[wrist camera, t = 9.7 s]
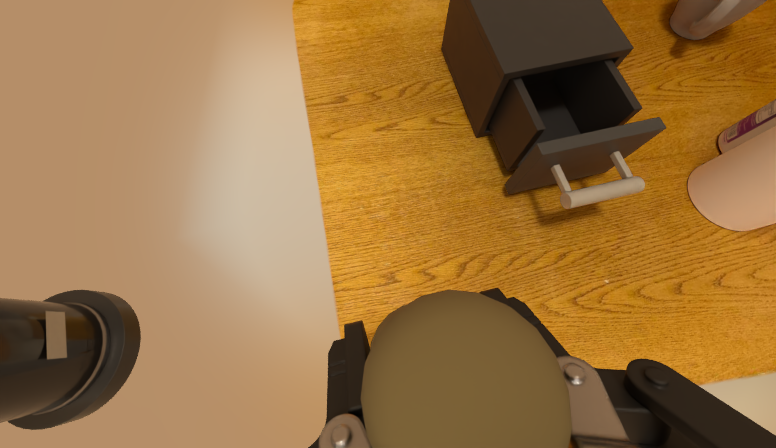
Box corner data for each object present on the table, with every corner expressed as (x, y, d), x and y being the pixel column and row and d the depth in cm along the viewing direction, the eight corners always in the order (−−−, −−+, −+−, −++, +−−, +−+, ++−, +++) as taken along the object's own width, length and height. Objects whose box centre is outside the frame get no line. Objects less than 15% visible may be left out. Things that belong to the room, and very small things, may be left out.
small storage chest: (574, 117, 37) (634, 47, 28) (476, 138, 36) (504, 73, 27) (528, 32, 41) (567, -51, 32) (441, 49, 40) (455, -32, 31)
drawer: (624, 206, 32) (694, 170, 24) (522, 230, 31) (563, 200, 24) (555, 79, 37) (595, 18, 30) (468, 97, 37) (487, 39, 29)
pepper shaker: (347, 349, 17) (278, 383, 6) (427, 281, 18) (478, 216, 8) (417, 448, 15) (476, 705, 5) (500, 366, 16) (688, 431, 6)
